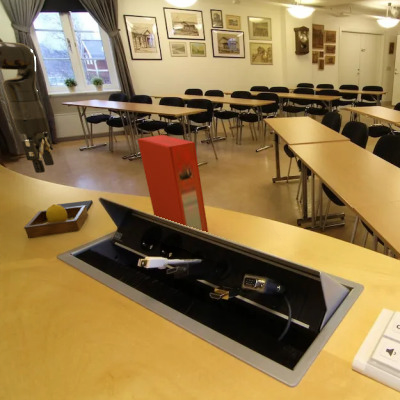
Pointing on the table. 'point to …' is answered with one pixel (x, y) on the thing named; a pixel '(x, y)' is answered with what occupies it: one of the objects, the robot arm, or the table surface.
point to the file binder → (174, 180)
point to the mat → (77, 204)
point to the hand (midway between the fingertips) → (45, 168)
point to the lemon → (56, 213)
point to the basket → (56, 223)
